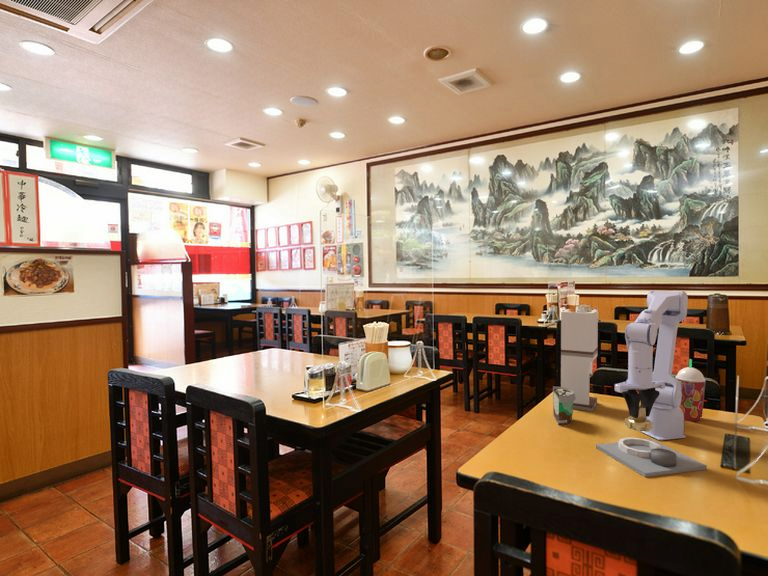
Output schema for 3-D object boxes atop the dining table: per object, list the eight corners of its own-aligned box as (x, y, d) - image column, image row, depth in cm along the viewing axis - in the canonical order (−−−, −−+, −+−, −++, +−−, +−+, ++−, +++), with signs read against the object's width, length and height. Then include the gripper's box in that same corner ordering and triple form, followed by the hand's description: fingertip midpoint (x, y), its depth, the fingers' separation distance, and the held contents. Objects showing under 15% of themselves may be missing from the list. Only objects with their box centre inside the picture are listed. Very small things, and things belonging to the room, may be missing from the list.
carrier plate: (650, 442, 130) (650, 430, 130) (706, 469, 113) (706, 455, 113) (596, 448, 127) (596, 435, 127) (645, 477, 109) (645, 463, 109)
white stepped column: (592, 411, 158) (593, 313, 157) (560, 406, 164) (561, 311, 163) (597, 402, 168) (597, 310, 166) (567, 398, 174) (567, 309, 172)
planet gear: (639, 421, 127) (640, 401, 126) (658, 430, 120) (659, 409, 120) (619, 424, 125) (620, 403, 125) (637, 433, 119) (638, 411, 118)
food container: (579, 427, 143) (579, 397, 142) (559, 426, 144) (559, 396, 143) (571, 415, 155) (571, 386, 154) (552, 414, 156) (552, 386, 156)
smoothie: (704, 416, 151) (705, 358, 150) (705, 424, 144) (707, 363, 143) (674, 412, 155) (675, 355, 155) (674, 420, 148) (675, 360, 148)
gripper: (650, 362, 127) (649, 409, 128) (606, 365, 124) (606, 413, 125) (671, 367, 120) (671, 417, 121) (626, 371, 117) (625, 422, 118)
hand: (639, 416), depth 122 cm, fingers closed on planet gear, 3 cm apart
